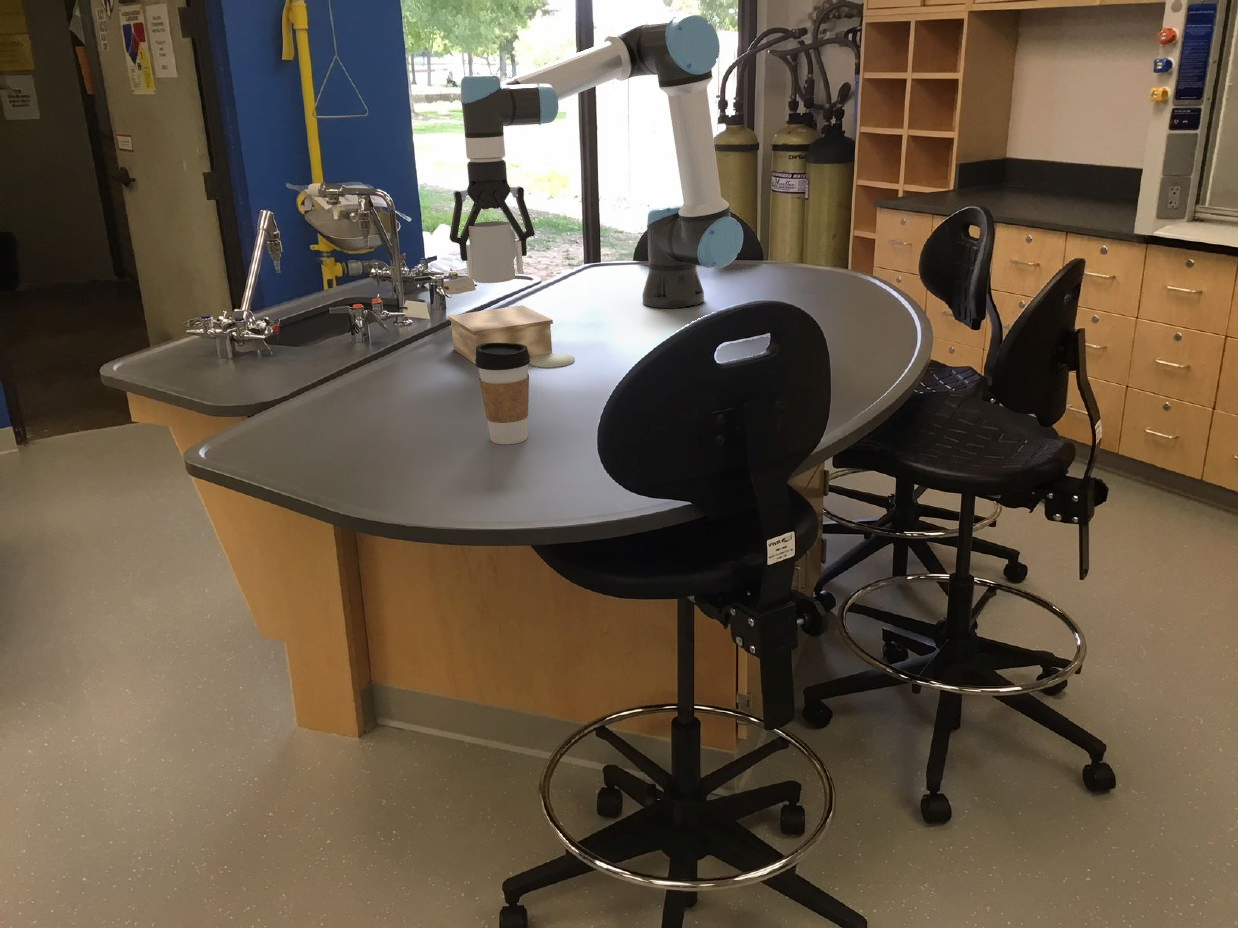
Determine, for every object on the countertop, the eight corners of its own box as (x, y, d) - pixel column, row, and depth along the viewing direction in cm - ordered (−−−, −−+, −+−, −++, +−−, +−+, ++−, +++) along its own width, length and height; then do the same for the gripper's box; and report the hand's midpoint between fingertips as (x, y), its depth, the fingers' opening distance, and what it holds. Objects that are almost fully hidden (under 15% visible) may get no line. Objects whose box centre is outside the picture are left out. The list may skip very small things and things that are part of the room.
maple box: (525, 337, 221) (523, 305, 219) (555, 354, 207) (553, 319, 204) (451, 349, 215) (448, 315, 212) (476, 367, 200) (473, 331, 198)
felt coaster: (568, 353, 207) (568, 351, 207) (579, 364, 199) (579, 362, 199) (525, 358, 205) (525, 356, 205) (534, 369, 197) (534, 367, 197)
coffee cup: (483, 431, 164) (475, 341, 158) (535, 428, 164) (529, 337, 159) (481, 449, 156) (472, 354, 150) (536, 445, 156) (529, 351, 151)
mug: (498, 284, 199) (493, 227, 195) (464, 282, 203) (458, 226, 199) (533, 273, 208) (529, 219, 204) (500, 271, 212) (496, 218, 208)
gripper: (537, 155, 203) (544, 267, 211) (426, 162, 198) (438, 276, 206) (545, 157, 196) (552, 273, 204) (431, 164, 191) (442, 282, 199)
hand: (495, 274), depth 205 cm, fingers closed on mug, 9 cm apart
